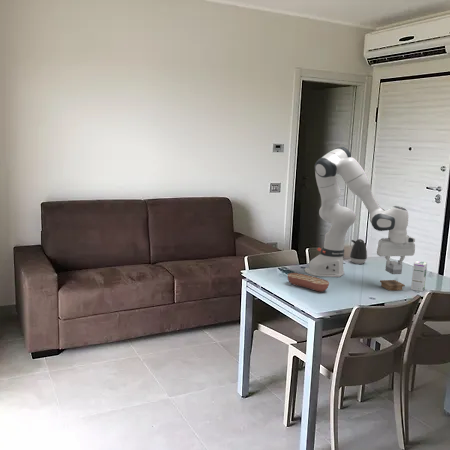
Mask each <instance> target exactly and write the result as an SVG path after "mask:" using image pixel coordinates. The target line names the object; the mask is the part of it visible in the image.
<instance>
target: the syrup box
mask: <svg viewBox="0 0 450 450" xmlns="http://www.w3.org/2000/svg"><path fill="white" fill-rule="evenodd" d="M427 270H428V262H426V261H418V260H416V261H415V262H413V268H412V278H411V285H410V287H411V288H410V289H411V290H412V291H417V292H423V291H424V290H425V288H426V287H425V286H426V277H427Z"/></svg>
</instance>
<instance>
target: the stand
mask: <svg viewBox="0 0 450 450" xmlns="http://www.w3.org/2000/svg"><path fill="white" fill-rule="evenodd" d="M379 282H380V283H381V287H382V288H384V289H386V290H388V291H390V292H391V291H393V292H394V291H403V289H404V288H403V287H405V286H406V285H405V284H404V283H402V282H400V281H398V280H396V279H386V280H385V279H381V280H379Z"/></svg>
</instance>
